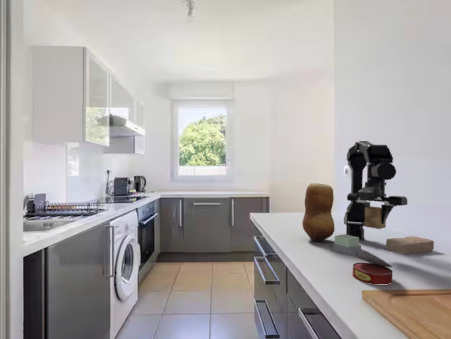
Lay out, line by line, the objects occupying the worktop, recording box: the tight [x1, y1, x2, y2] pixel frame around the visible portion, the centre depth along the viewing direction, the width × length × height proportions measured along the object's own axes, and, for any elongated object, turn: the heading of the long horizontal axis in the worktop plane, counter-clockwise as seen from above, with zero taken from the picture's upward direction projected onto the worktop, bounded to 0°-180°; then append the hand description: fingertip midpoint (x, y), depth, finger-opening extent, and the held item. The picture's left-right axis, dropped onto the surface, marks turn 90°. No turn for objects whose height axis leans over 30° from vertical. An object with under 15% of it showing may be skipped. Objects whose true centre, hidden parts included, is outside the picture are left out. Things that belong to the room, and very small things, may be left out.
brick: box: [385, 235, 435, 255], centre depth 110 cm, size 17×8×5 cm, turn 110°
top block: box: [334, 233, 360, 247], centre depth 106 cm, size 6×6×3 cm
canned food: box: [352, 248, 393, 285], centre depth 79 cm, size 11×10×10 cm
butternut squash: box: [301, 182, 335, 242], centre depth 123 cm, size 14×13×25 cm
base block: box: [333, 243, 362, 256], centre depth 106 cm, size 7×7×3 cm
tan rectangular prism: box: [364, 205, 387, 230], centre depth 101 cm, size 5×5×7 cm
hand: (375, 222), depth 101 cm, fingers closed on tan rectangular prism, 5 cm apart
